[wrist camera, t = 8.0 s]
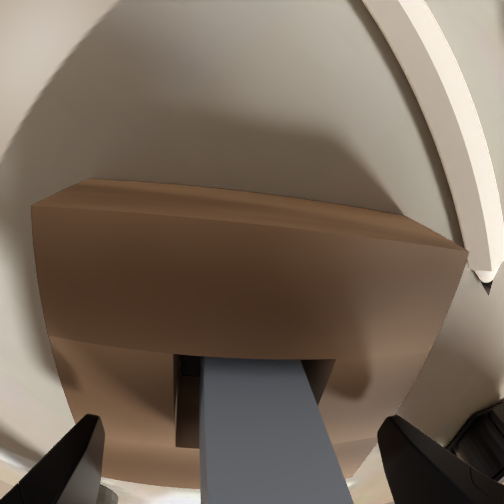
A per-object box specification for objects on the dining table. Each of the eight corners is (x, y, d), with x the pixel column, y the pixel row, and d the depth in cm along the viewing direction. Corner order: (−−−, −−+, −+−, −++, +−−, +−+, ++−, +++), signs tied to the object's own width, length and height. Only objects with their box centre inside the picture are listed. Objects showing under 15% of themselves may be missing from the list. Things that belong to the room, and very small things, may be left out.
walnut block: (330, 422, 16) (351, 477, 12) (112, 415, 14) (98, 476, 10) (404, 215, 12) (469, 251, 8) (88, 178, 10) (30, 205, 6)
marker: (469, 283, 15) (352, -9, 9) (500, 273, 14) (395, -26, 8) (477, 317, 13) (350, -22, 7) (511, 306, 12) (402, -41, 6)
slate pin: (267, 365, 14) (323, 584, 4) (199, 362, 13) (207, 597, 4) (281, 309, 13) (374, 562, 3) (205, 303, 12) (215, 588, 3)
